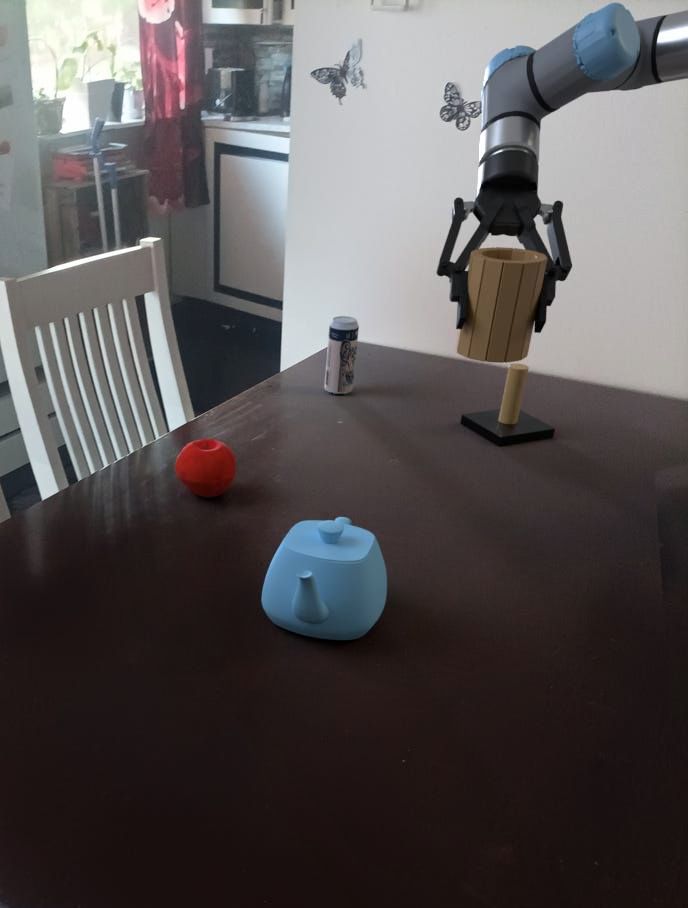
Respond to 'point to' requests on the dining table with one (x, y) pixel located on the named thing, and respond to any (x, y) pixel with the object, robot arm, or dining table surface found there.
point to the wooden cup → (501, 304)
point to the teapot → (326, 580)
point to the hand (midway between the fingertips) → (500, 325)
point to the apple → (206, 467)
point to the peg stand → (509, 415)
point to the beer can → (341, 355)
